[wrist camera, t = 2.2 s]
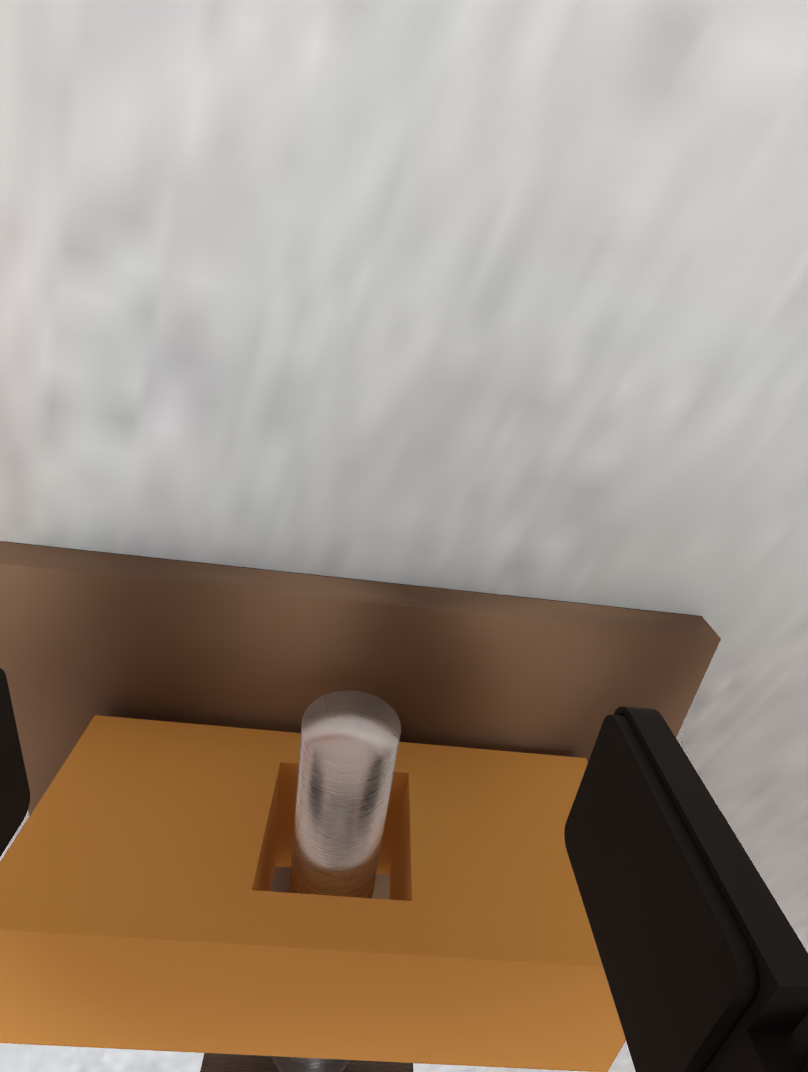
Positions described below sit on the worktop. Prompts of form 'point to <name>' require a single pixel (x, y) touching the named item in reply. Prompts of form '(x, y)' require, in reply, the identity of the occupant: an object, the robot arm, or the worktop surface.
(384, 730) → the grey block with rod
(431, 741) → the pipe board
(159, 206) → the worktop surface
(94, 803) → the collar
